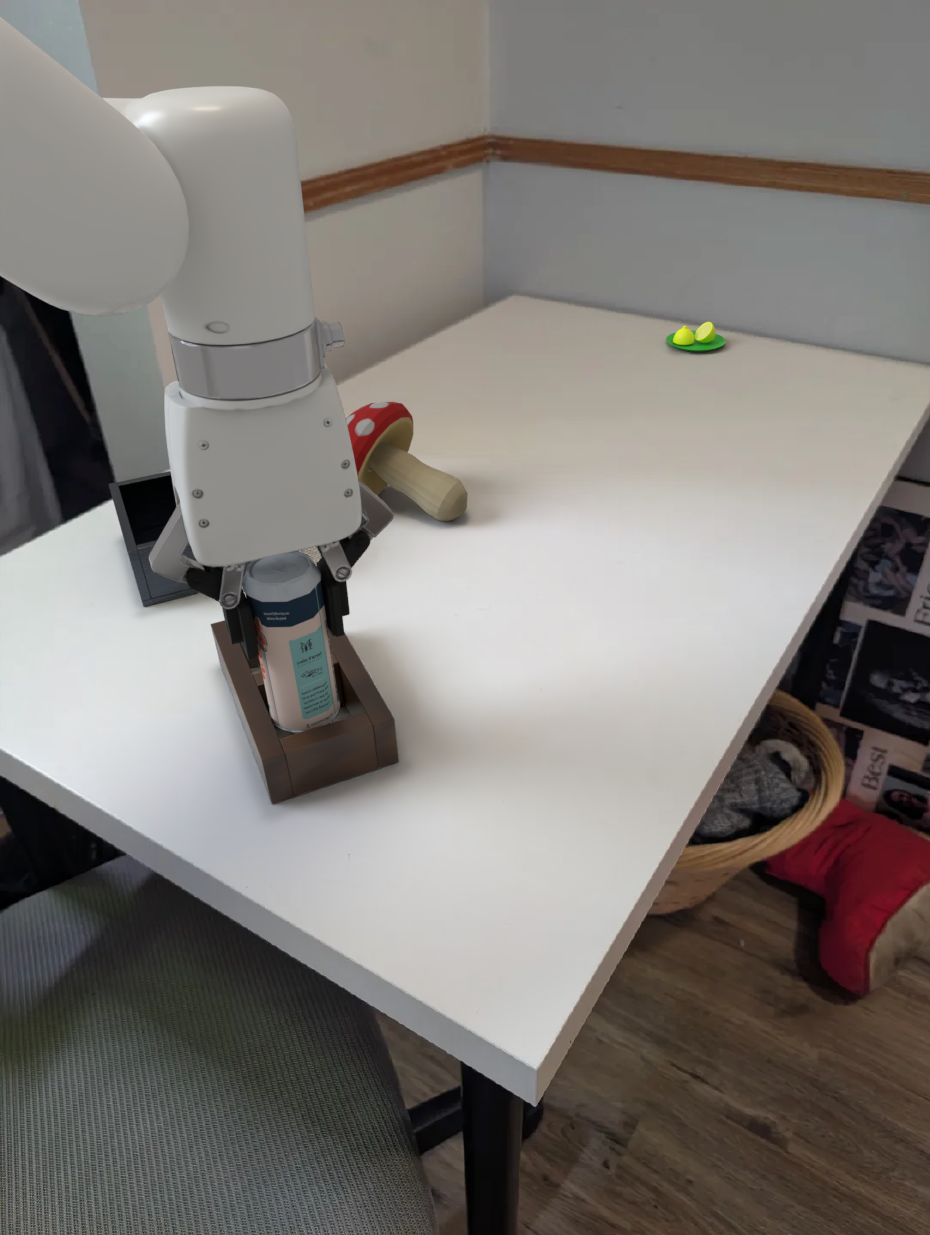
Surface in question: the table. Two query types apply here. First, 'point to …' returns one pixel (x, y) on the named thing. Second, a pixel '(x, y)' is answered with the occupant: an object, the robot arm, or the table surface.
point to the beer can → (292, 640)
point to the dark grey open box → (149, 532)
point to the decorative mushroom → (400, 461)
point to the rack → (317, 750)
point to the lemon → (696, 338)
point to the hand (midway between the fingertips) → (290, 633)
